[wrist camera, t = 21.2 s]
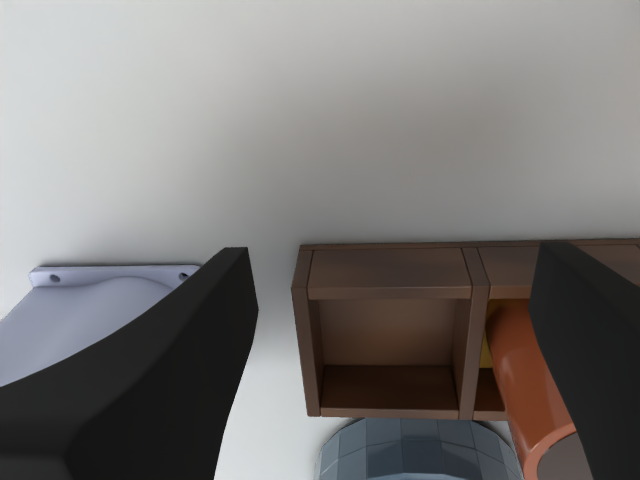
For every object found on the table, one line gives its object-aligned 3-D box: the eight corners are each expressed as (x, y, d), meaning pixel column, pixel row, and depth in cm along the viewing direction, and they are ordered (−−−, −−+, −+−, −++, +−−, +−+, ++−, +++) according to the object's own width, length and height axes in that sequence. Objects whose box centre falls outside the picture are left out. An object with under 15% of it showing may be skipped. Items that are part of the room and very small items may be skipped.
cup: (475, 361, 26) (513, 512, 19) (486, 271, 23) (537, 412, 16) (590, 362, 25) (673, 519, 18) (617, 270, 22) (729, 416, 15)
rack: (313, 366, 28) (307, 417, 25) (300, 244, 24) (290, 287, 21) (605, 369, 26) (635, 424, 23) (647, 238, 22) (691, 283, 19)
